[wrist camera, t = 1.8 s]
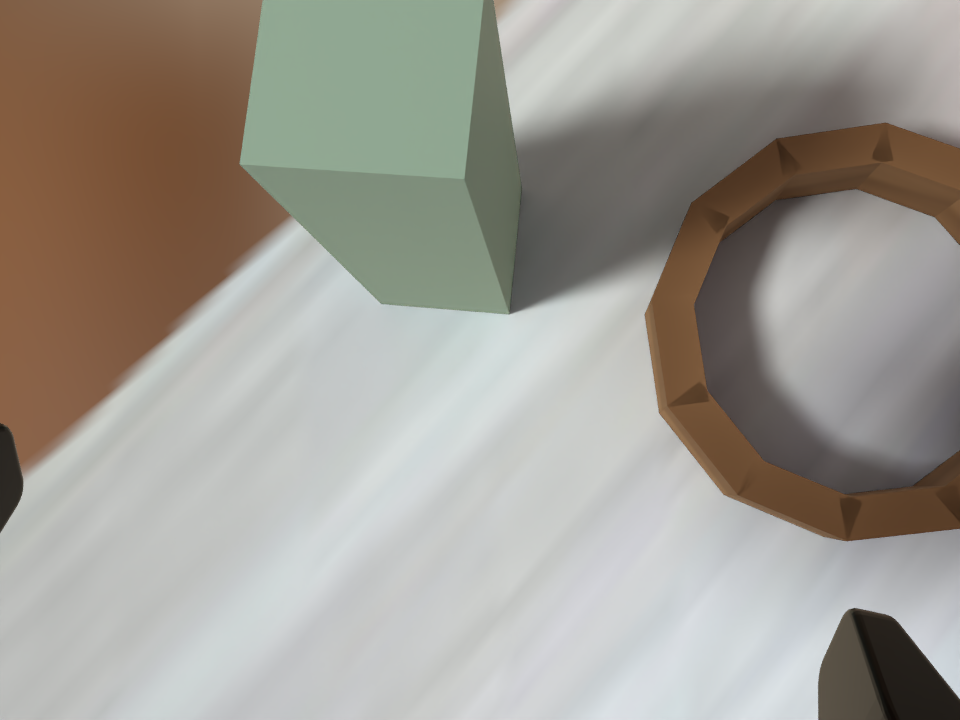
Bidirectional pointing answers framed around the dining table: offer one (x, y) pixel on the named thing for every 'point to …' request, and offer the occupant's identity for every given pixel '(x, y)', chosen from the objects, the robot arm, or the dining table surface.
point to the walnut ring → (676, 347)
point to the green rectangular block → (391, 143)
